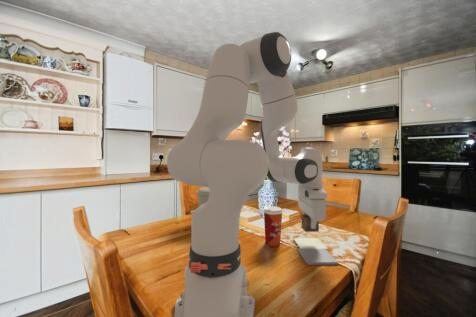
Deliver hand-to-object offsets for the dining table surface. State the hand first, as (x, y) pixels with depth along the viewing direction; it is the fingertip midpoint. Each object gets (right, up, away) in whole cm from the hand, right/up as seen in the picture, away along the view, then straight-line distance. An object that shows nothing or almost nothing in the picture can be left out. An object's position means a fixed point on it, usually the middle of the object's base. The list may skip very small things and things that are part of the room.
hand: (309, 225), depth 87 cm
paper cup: (-14, -8, +2) cm, 16 cm away
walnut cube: (0, -2, 0) cm, 2 cm away
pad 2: (-1, -8, -10) cm, 13 cm away
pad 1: (0, -8, 0) cm, 8 cm away
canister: (-40, -7, +26) cm, 48 cm away
